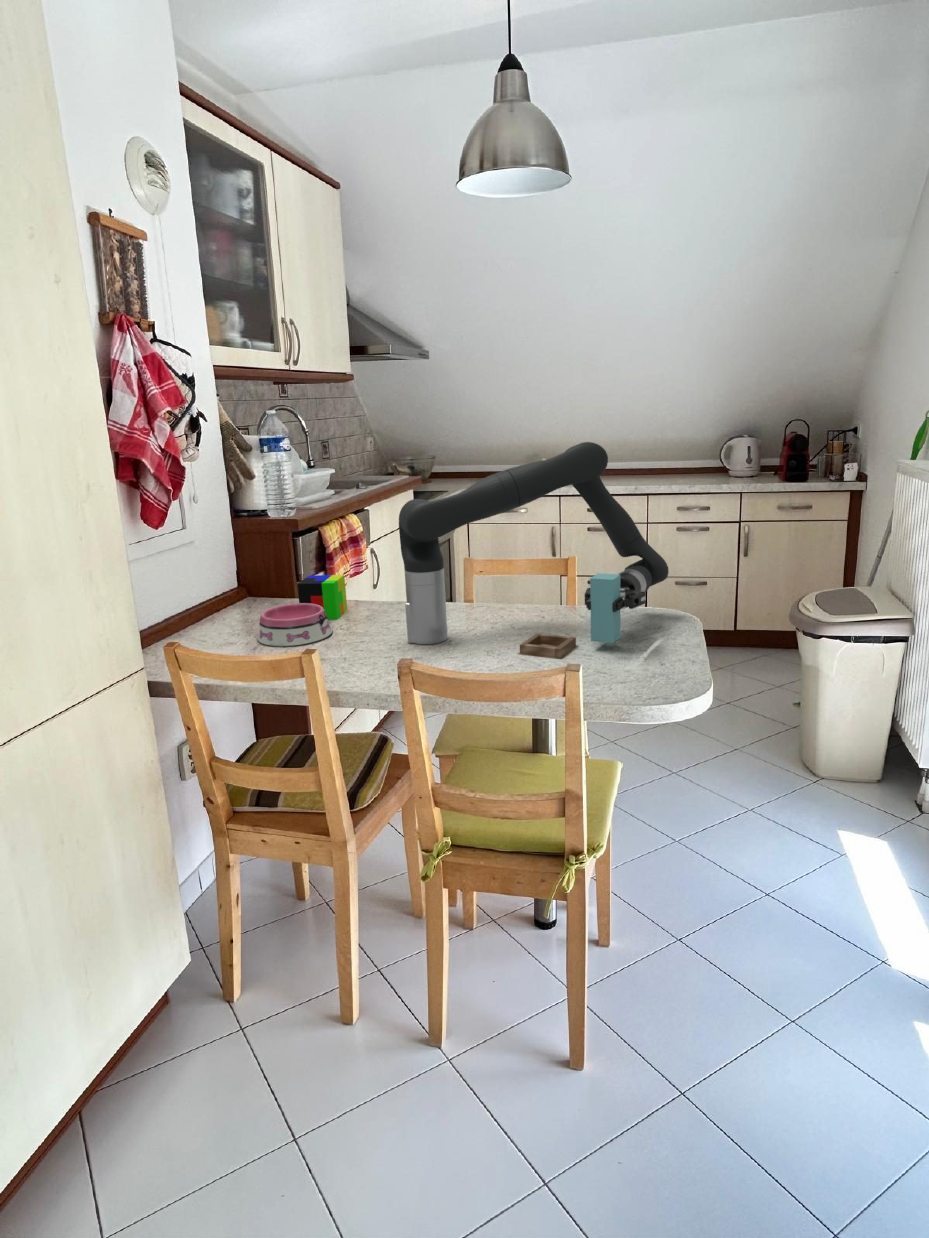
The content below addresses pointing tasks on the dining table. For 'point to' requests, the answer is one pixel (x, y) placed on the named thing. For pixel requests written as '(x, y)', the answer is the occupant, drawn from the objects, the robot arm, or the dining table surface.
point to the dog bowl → (293, 625)
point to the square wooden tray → (548, 646)
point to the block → (604, 607)
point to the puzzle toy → (324, 593)
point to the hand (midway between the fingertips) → (601, 606)
